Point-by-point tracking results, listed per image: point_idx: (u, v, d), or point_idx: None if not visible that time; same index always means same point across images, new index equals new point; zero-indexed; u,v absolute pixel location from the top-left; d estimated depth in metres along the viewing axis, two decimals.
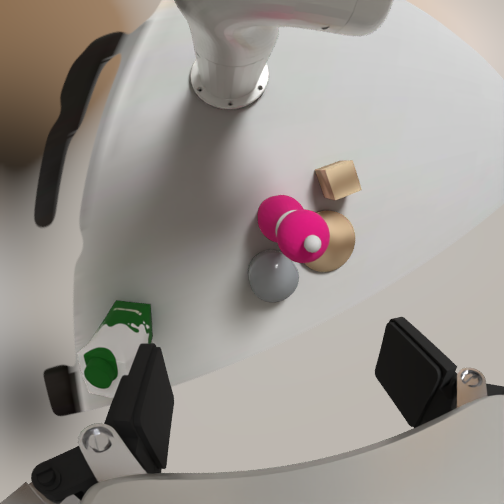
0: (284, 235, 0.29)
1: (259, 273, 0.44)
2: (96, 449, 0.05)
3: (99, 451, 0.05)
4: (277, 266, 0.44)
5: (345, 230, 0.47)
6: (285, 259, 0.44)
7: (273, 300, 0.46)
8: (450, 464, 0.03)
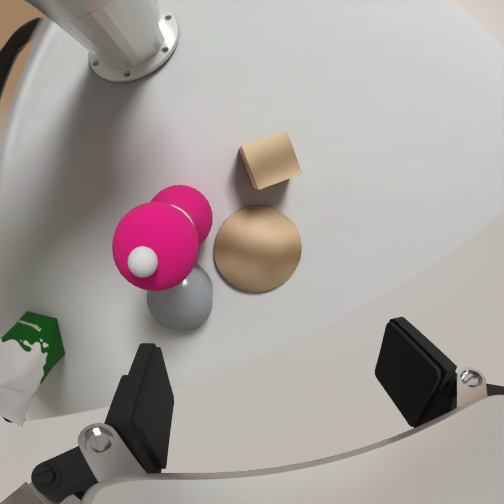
0: (113, 245, 0.16)
1: (157, 293, 0.32)
2: (96, 449, 0.05)
3: (100, 451, 0.05)
4: (179, 284, 0.32)
5: (285, 234, 0.34)
6: (190, 275, 0.31)
7: (181, 328, 0.33)
8: (450, 464, 0.03)
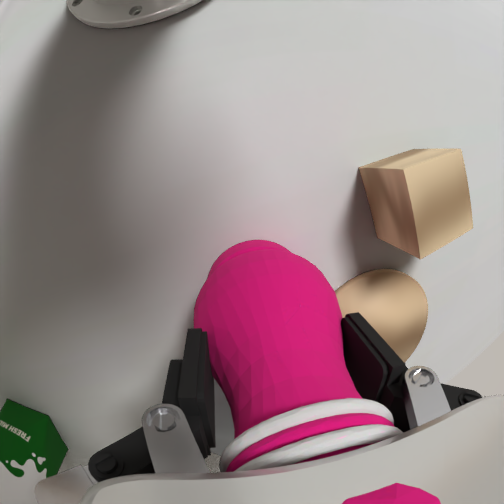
0: None
1: None
2: (159, 428, 0.06)
3: (161, 430, 0.06)
4: None
5: (412, 310, 0.19)
6: None
7: None
8: (450, 464, 0.03)
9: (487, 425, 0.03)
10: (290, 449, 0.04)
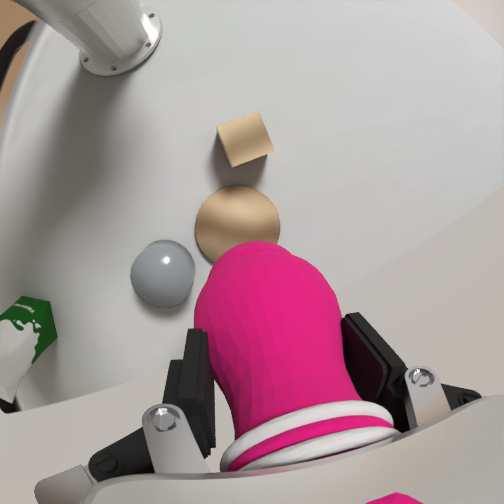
0: None
1: (138, 275, 0.33)
2: (159, 428, 0.06)
3: (161, 430, 0.06)
4: (155, 261, 0.32)
5: (264, 212, 0.36)
6: (162, 250, 0.32)
7: (170, 305, 0.34)
8: (450, 464, 0.03)
9: (487, 425, 0.03)
10: (290, 451, 0.04)
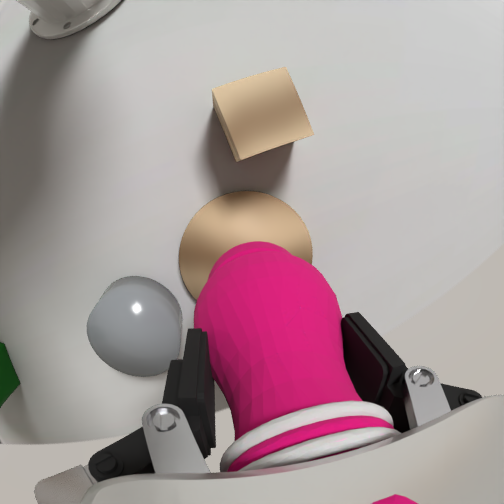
0: None
1: (101, 342, 0.20)
2: (159, 428, 0.06)
3: (161, 430, 0.06)
4: (114, 318, 0.19)
5: (288, 234, 0.22)
6: (117, 300, 0.19)
7: (159, 371, 0.21)
8: (450, 464, 0.03)
9: (487, 425, 0.03)
10: (290, 452, 0.04)
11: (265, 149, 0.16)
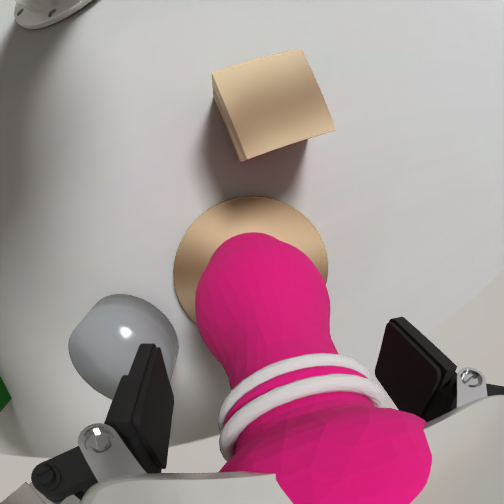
0: None
1: (90, 374, 0.17)
2: (96, 449, 0.05)
3: (100, 451, 0.05)
4: (90, 346, 0.16)
5: (301, 247, 0.19)
6: (84, 326, 0.15)
7: None
8: (450, 464, 0.03)
9: (487, 425, 0.03)
10: (279, 390, 0.06)
11: (277, 146, 0.13)
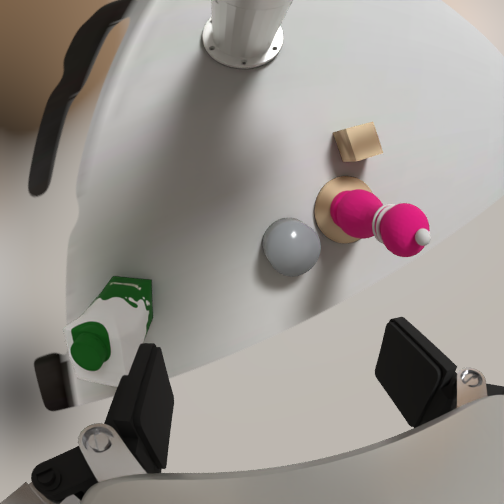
0: (396, 228, 0.26)
1: (287, 268, 0.41)
2: (96, 449, 0.05)
3: (100, 451, 0.05)
4: (279, 250, 0.40)
5: None
6: (271, 242, 0.39)
7: (319, 248, 0.41)
8: (450, 464, 0.03)
9: (487, 425, 0.03)
10: (388, 206, 0.29)
11: (365, 157, 0.37)
